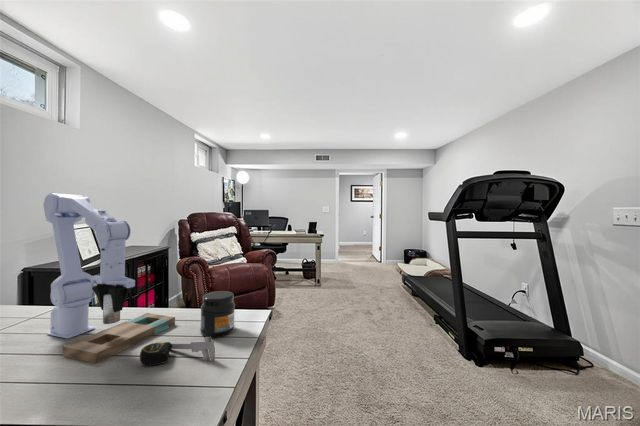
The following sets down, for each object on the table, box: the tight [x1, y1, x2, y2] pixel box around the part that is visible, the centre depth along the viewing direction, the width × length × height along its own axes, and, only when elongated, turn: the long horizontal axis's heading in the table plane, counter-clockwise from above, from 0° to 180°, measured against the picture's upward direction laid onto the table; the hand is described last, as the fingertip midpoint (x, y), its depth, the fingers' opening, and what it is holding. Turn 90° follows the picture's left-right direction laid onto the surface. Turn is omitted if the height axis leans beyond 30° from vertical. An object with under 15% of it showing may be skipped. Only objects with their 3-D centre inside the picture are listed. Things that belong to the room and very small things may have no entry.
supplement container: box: [200, 290, 236, 338], centre depth 92 cm, size 10×10×12 cm
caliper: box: [159, 336, 216, 362], centre depth 77 cm, size 21×1×6 cm, turn 69°
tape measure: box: [139, 341, 172, 367], centre depth 73 cm, size 7×7×4 cm
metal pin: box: [102, 292, 121, 325], centre depth 81 cm, size 4×4×8 cm
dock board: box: [62, 312, 176, 364], centre depth 85 cm, size 12×26×2 cm, turn 164°
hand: (111, 310), depth 81 cm, fingers closed on metal pin, 4 cm apart
